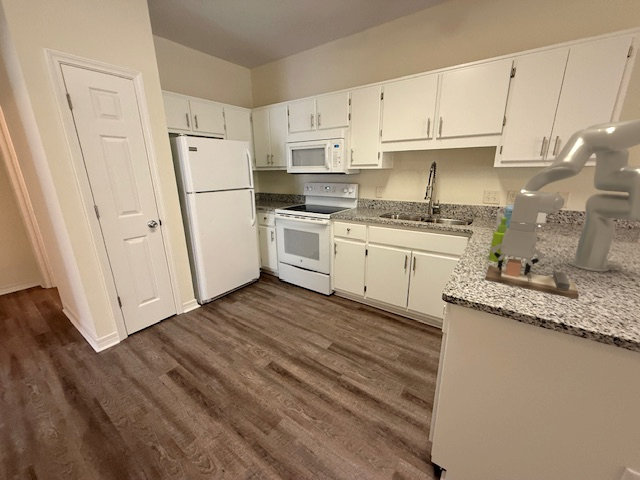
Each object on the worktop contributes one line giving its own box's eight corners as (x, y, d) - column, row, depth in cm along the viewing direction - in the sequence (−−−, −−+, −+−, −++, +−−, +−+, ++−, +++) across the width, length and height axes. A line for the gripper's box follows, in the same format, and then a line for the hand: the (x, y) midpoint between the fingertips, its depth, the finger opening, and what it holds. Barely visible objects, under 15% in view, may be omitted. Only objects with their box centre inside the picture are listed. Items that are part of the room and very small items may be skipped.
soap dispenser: (500, 258, 125) (509, 216, 120) (505, 262, 119) (514, 219, 114) (486, 256, 127) (494, 216, 122) (490, 261, 121) (498, 218, 115)
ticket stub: (526, 273, 102) (529, 260, 101) (527, 282, 94) (530, 267, 93) (501, 269, 107) (504, 256, 105) (500, 277, 99) (503, 263, 98)
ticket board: (570, 284, 97) (573, 274, 96) (577, 299, 86) (581, 287, 85) (488, 269, 111) (489, 259, 110) (485, 279, 101) (487, 269, 99)
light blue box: (508, 255, 129) (518, 209, 123) (496, 253, 132) (505, 208, 126) (512, 247, 143) (521, 205, 137) (501, 245, 146) (509, 204, 140)
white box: (504, 236, 154) (506, 195, 155) (493, 239, 169) (495, 201, 171) (545, 239, 149) (546, 196, 151) (529, 241, 165) (531, 202, 166)
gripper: (551, 228, 94) (540, 273, 99) (494, 222, 104) (486, 264, 109) (554, 232, 88) (542, 280, 93) (493, 225, 98) (485, 269, 103)
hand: (512, 271), depth 101 cm, fingers open, 7 cm apart
